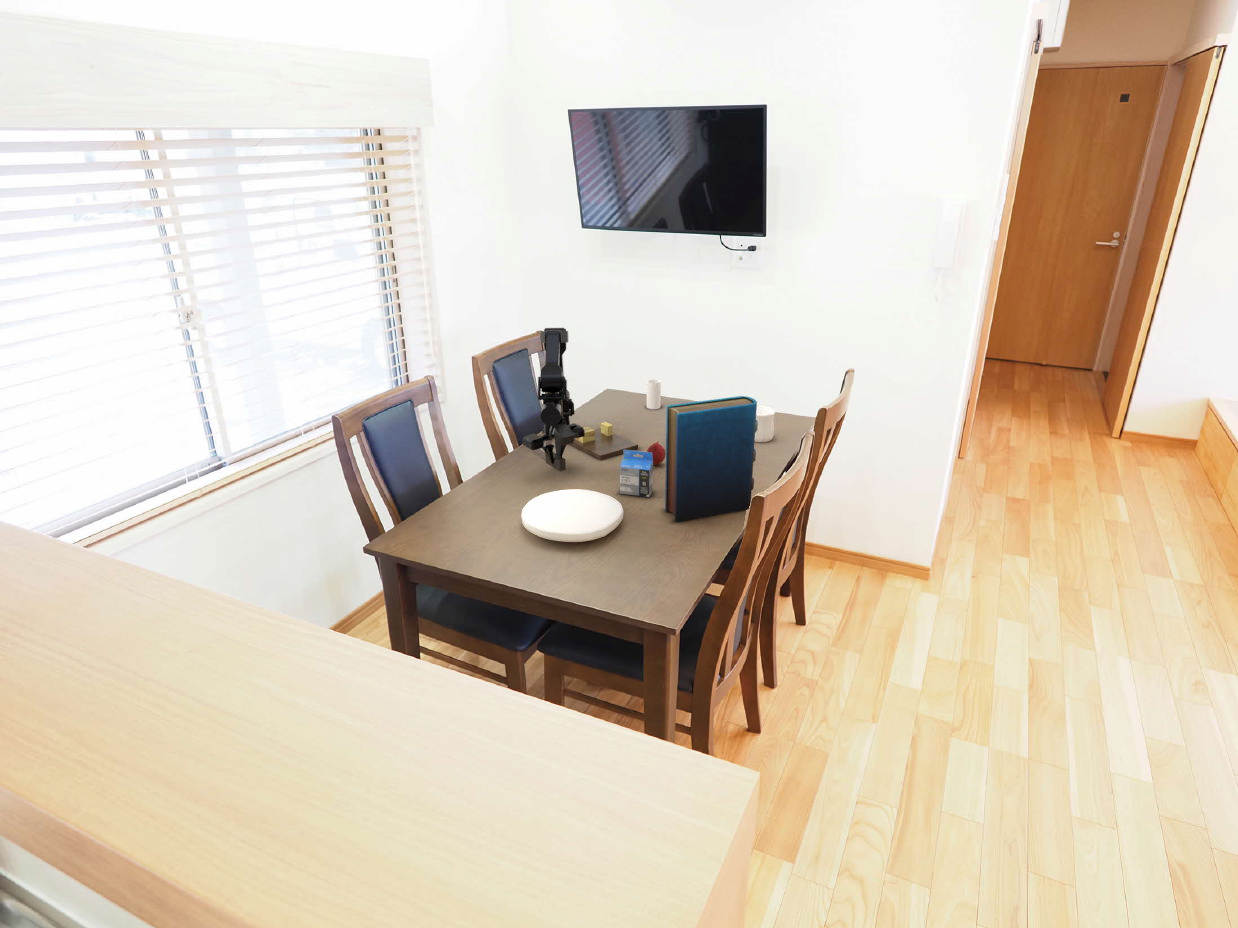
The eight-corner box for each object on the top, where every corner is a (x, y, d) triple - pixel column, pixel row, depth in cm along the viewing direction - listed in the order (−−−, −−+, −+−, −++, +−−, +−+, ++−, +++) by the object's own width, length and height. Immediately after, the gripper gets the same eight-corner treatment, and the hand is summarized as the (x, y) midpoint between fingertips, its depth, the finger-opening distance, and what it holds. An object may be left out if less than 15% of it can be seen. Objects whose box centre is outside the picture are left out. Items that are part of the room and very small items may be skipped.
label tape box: (619, 494, 223) (618, 454, 219) (623, 488, 227) (623, 449, 222) (649, 497, 221) (649, 457, 216) (653, 491, 225) (653, 452, 220)
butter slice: (600, 432, 264) (600, 423, 263) (605, 431, 265) (605, 421, 264) (607, 436, 261) (607, 426, 260) (612, 434, 262) (612, 425, 261)
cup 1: (647, 404, 295) (647, 379, 291) (660, 404, 295) (661, 379, 291) (646, 409, 290) (646, 383, 286) (660, 409, 290) (660, 383, 286)
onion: (659, 470, 238) (659, 446, 235) (643, 466, 241) (643, 442, 238) (668, 464, 243) (669, 440, 240) (652, 460, 246) (652, 436, 243)
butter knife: (565, 469, 235) (565, 459, 234) (559, 471, 234) (559, 460, 233) (534, 451, 249) (534, 441, 247) (528, 452, 247) (528, 442, 246)
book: (741, 495, 222) (747, 392, 210) (757, 507, 215) (763, 402, 203) (663, 508, 215) (663, 404, 203) (676, 522, 207) (677, 414, 195)
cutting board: (565, 441, 261) (564, 427, 259) (602, 431, 269) (601, 417, 267) (600, 460, 246) (600, 445, 245) (638, 448, 255) (638, 434, 253)
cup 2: (751, 430, 269) (752, 403, 265) (778, 436, 264) (780, 408, 260) (738, 438, 262) (740, 411, 258) (766, 445, 257) (768, 416, 253)
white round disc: (528, 485, 218) (624, 485, 218) (529, 507, 220) (624, 507, 220) (513, 521, 191) (622, 522, 191) (514, 546, 193) (622, 547, 193)
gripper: (540, 428, 220) (543, 479, 226) (594, 414, 230) (595, 463, 237) (520, 417, 228) (523, 467, 235) (573, 404, 239) (575, 452, 245)
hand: (555, 462), depth 237 cm, fingers closed on butter knife, 2 cm apart
